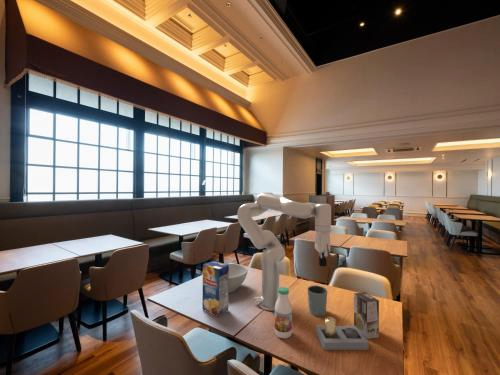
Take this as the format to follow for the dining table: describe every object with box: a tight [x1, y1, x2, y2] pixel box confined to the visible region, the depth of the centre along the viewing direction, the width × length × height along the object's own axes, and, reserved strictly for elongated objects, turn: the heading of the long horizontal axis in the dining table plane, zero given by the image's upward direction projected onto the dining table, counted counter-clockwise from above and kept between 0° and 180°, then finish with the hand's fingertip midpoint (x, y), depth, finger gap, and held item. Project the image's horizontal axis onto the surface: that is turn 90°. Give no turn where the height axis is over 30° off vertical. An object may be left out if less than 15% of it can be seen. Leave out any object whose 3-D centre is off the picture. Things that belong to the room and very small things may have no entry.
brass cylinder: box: [324, 316, 337, 339], centre depth 99 cm, size 4×4×9 cm
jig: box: [315, 325, 370, 351], centre depth 99 cm, size 18×11×4 cm, turn 91°
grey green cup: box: [307, 284, 328, 317], centre depth 122 cm, size 10×10×12 cm
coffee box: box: [353, 291, 380, 340], centre depth 105 cm, size 9×6×16 cm
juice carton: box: [201, 260, 229, 317], centre depth 123 cm, size 12×8×24 cm, turn 55°
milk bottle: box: [274, 286, 293, 339], centre depth 103 cm, size 8×8×20 cm
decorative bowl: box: [225, 262, 249, 294], centre depth 149 cm, size 27×27×12 cm
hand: (322, 265), depth 114 cm, fingers closed
